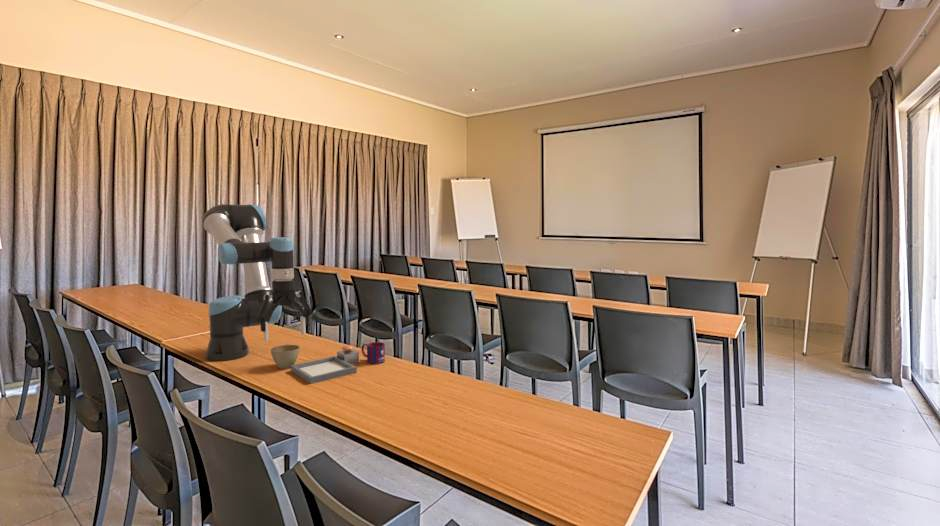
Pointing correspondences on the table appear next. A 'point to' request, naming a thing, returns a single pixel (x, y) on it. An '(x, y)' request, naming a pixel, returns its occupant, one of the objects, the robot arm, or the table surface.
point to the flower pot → (285, 355)
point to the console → (349, 356)
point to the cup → (375, 352)
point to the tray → (323, 369)
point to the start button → (347, 348)
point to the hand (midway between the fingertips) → (285, 336)
